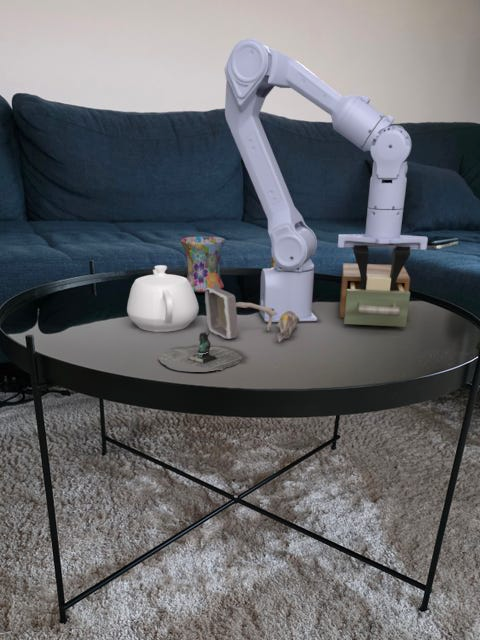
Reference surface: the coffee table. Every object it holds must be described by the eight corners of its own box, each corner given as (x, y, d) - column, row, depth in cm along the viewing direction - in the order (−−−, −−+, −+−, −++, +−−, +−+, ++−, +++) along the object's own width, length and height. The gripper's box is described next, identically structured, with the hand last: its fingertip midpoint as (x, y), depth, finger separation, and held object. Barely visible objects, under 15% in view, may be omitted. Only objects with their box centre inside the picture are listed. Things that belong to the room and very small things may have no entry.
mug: (228, 294, 125) (228, 242, 120) (184, 296, 123) (182, 243, 119) (220, 282, 135) (219, 234, 131) (179, 283, 134) (177, 235, 129)
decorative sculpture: (297, 327, 103) (299, 285, 100) (307, 344, 95) (310, 298, 91) (205, 328, 102) (204, 285, 99) (206, 345, 93) (206, 299, 90)
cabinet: (404, 320, 107) (410, 278, 104) (340, 317, 109) (343, 276, 106) (398, 303, 118) (403, 265, 115) (340, 301, 120) (343, 263, 117)
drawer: (408, 335, 96) (413, 299, 94) (344, 332, 98) (347, 297, 95) (399, 309, 111) (403, 278, 108) (343, 307, 112) (346, 276, 110)
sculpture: (246, 350, 92) (243, 322, 85) (236, 403, 89) (232, 378, 82) (172, 341, 94) (163, 313, 87) (159, 392, 90) (148, 367, 83)
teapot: (124, 311, 112) (119, 256, 108) (188, 307, 115) (187, 254, 110) (132, 343, 94) (127, 279, 90) (208, 338, 97) (207, 275, 93)
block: (388, 302, 101) (391, 278, 100) (364, 301, 102) (367, 277, 100) (386, 296, 105) (389, 274, 103) (363, 296, 105) (366, 273, 104)
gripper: (340, 209, 94) (334, 294, 100) (434, 211, 92) (422, 298, 98) (340, 205, 101) (334, 285, 107) (428, 207, 99) (417, 288, 105)
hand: (376, 291), depth 103 cm, fingers closed on block, 4 cm apart
